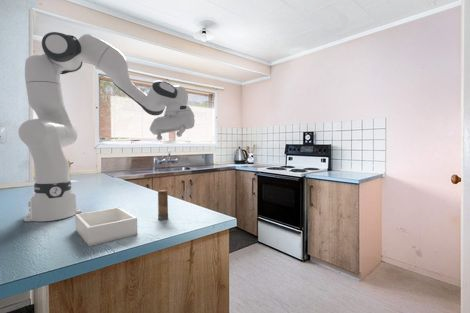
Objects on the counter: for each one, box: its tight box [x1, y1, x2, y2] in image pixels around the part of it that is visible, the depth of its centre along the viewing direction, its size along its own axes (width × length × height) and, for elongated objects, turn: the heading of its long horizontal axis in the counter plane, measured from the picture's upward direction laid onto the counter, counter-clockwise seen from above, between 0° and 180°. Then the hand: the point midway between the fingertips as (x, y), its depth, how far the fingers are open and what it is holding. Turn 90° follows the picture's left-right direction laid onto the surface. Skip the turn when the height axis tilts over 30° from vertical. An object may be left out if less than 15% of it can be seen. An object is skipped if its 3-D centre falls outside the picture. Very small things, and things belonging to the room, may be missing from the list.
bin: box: [74, 206, 138, 247], centre depth 82 cm, size 18×14×6 cm
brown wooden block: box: [157, 189, 169, 221], centre depth 97 cm, size 4×4×11 cm
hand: (168, 137), depth 104 cm, fingers open, 8 cm apart
